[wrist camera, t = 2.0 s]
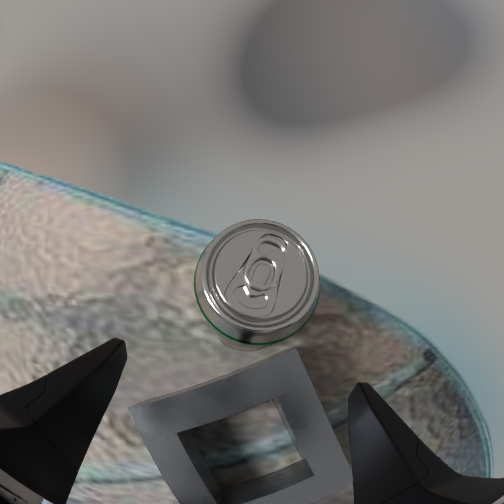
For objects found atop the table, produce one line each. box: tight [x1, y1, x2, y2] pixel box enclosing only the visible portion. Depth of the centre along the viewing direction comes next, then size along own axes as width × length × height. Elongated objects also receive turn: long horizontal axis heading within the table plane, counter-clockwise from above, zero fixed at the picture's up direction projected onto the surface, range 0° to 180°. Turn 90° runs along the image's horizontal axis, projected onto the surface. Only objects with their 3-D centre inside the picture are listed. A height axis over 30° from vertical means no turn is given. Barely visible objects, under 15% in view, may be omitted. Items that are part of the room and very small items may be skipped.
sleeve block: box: [129, 348, 353, 504], centre depth 15 cm, size 12×12×4 cm
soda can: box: [194, 219, 320, 351], centre depth 15 cm, size 5×5×12 cm
